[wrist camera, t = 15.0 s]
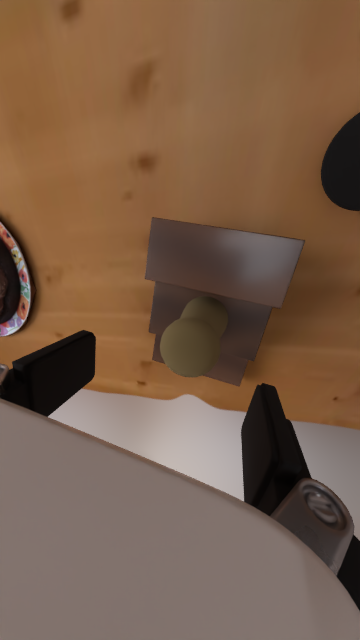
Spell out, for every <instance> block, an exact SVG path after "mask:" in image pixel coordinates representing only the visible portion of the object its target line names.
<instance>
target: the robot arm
mask: <svg viewBox="0 0 360 640" xmlns="http://www.w3.org/2000/svg"><path fill="white" fill-rule="evenodd" d="M95 346H96V337H95V336H94V334H93V333H92V332H88V331H85V330H82V331H80V332H77V333H75V334H73V335H71V336H69V337H66V338H64V339H62V340H60V341H57V342H55V343H53V344H51V345H49V346H46V347H44V348H42V349H40V350H38V351H35V352H33V353H31V354H29V355H26V356H24V357H22V358H20V359H18V360H15V361H13V362H12V364H13V368H12V369H10V370H9V368H8V366H7V365H5V364H0V640H360V541H359V540H358V539H357V538H356V537H355V536H354V535H353V534H354V524H353V520H352V517H351V516H350V513H349V511H348V509H347V508H346V506H345V505H344V504H343V502H342V501H341V500H340V498H339V497H338V496H337V495H336V494H335V493H334V492H333V491H332V490H331V489H329V488H328V487H327V486H325V485H324V484H322V483H321V482H318V481H317V480H314V479H312V478H311V475H310V473H309V470H308V467H307V464H306V462H305V459H304V456H303V453H302V450H301V448H300V445H299V442H298V440H297V437H296V434H295V431H294V428H293V425H292V423H291V421H290V420H288V419H286V418H285V415H284V412H283V409H282V406H281V403H280V400H279V397H278V394H277V391H276V388H275V387H274V386H271V385H268V384H264V383H262V384H261V385H257V387H256V389H255V392H254V395H253V397H252V400H251V403H250V406H249V408H248V411H247V414H246V416H245V419H244V422H243V425H242V430H241V436H242V437H241V438H242V460H243V482H244V502H243V501H241V500H239V499H237V498H235V497H233V496H231V495H229V494H227V493H225V492H223V491H221V490H218V489H216V488H214V487H212V486H209V485H207V484H205V483H203V482H200V481H198V480H196V479H194V478H191V477H189V476H187V475H184V474H182V473H180V472H177V471H175V470H173V469H170V468H168V467H166V466H163V465H161V464H158V463H156V462H154V461H151V460H149V459H147V458H144V457H142V456H140V455H137V454H135V453H133V452H130V451H128V450H125V449H123V448H121V447H118V446H116V445H113V444H111V443H109V442H106V441H104V440H101V439H99V438H97V437H94V436H92V435H89V434H87V433H85V432H82V431H80V430H77V429H75V428H73V427H70V426H68V425H65V424H63V423H60V422H58V421H56V420H53V419H51V418H48V416H49V415H50V414H51V413H53V412H54V411H55V410H56V409H57V408H59V407H60V406H61V405H62V404H63V403H65V402H66V401H67V400H68V399H69V398H71V397H72V396H73V395H74V394H75V393H77V392H78V391H79V390H80V389H81V388H83V387H84V386H85V385H86V384H87V383H89V382H90V381H91V380H92V379H93V377H94V375H95Z"/></svg>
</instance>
